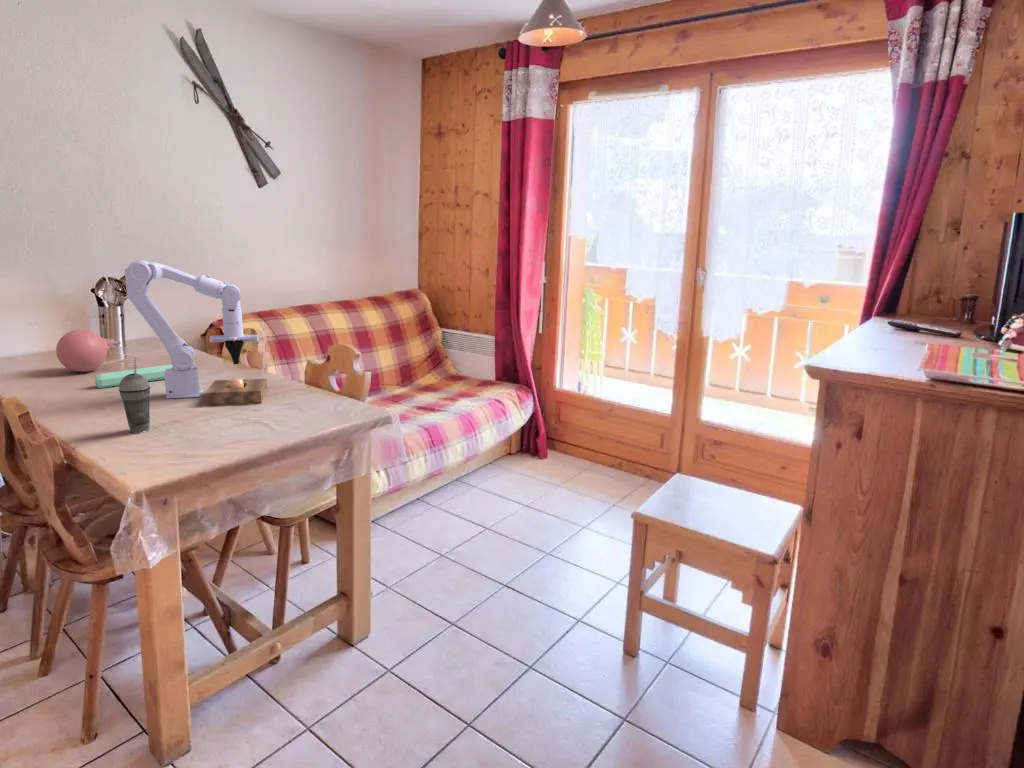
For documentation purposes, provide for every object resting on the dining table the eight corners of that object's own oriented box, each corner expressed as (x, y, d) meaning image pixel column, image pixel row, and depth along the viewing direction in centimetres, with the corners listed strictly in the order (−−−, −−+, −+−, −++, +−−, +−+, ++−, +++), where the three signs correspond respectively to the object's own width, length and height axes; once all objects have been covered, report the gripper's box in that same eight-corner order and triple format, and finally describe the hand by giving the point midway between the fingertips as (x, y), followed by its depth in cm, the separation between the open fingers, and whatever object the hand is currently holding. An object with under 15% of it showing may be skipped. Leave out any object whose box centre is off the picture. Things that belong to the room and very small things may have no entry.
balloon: (126, 371, 235) (121, 330, 231) (60, 378, 223) (53, 335, 220) (121, 363, 247) (116, 324, 243) (58, 370, 235) (51, 328, 231)
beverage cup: (132, 426, 175) (123, 354, 170) (160, 426, 175) (151, 354, 170) (118, 434, 168) (108, 360, 163) (147, 434, 168) (138, 360, 163)
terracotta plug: (230, 399, 202) (228, 381, 200) (232, 396, 206) (230, 378, 204) (243, 399, 203) (242, 380, 201) (245, 396, 207) (244, 377, 205)
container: (94, 371, 209) (176, 360, 226) (91, 375, 214) (172, 364, 230) (98, 389, 209) (180, 376, 226) (95, 392, 214) (176, 380, 230)
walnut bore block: (205, 405, 195) (204, 393, 194) (216, 392, 210) (214, 380, 209) (261, 403, 199) (260, 390, 198) (267, 390, 214) (266, 378, 213)
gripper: (205, 324, 201) (209, 367, 204) (255, 323, 204) (258, 365, 207) (210, 321, 207) (214, 362, 211) (258, 320, 211) (261, 360, 214)
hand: (236, 363), depth 209 cm, fingers closed
